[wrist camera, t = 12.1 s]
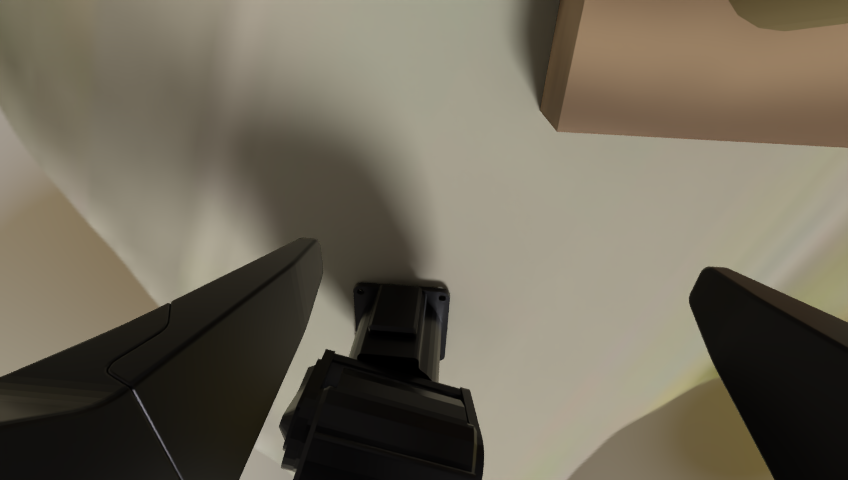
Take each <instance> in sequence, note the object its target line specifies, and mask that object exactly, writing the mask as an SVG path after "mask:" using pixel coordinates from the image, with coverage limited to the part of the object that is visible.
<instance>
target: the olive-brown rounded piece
mask: <svg viewBox="0 0 848 480" xmlns="http://www.w3.org/2000/svg"><path fill="white" fill-rule="evenodd" d="M729 2H730V3H731V5H732V7H733V8H734V10H735V11H736V13H737V15H738V16H740V17H742V18H743V19H745V20H746V21H748V22H750V23H751V24H753V25H755V26H756V27H758V28H763V29H770V30H778V31H792V30H800V29H808V28H815V27H823V26H831V25H839V24H847V23H848V0H729Z"/></svg>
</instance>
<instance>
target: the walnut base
mask: <svg viewBox="0 0 848 480" xmlns="http://www.w3.org/2000/svg"><path fill="white" fill-rule="evenodd" d="M540 111H541V112H542V114H543V115H544V116H545V117H546V119H547V120H548V121H549V122H550V124H551V125H552V126H553V127H554V129H555V130H556V131H557V132H573V133H591V134H609V135H627V136H645V137H664V138H682V139H700V140H718V141H736V142H754V143H772V144H791V145H809V146H827V147H845V148H848V23H847V24H839V25H831V26H823V27H815V28H808V29H800V30H792V31H778V30H770V29H763V28H758V27H756V26H755V25H753V24H751V23H750V22H748V21H746V20H745V19H743V18H742V17H740V16H738V15H737V13H736V11H735V10H734V8H733V7H732V5H731V3H730V2H729V0H560V4H559V10H558V15H557V20H556V26H555V31H554V37H553V42H552V48H551V53H550V58H549V64H548V69H547V75H546V80H545V86H544V91H543V96H542V102H541V107H540Z"/></svg>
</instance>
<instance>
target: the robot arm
mask: <svg viewBox="0 0 848 480" xmlns="http://www.w3.org/2000/svg"><path fill="white" fill-rule="evenodd" d="M322 274H323V264H322V256H321V248H320V243H319V241H318V240H317V239H313V238H300V239H298V240H296V241H294V242H292V243H289V244H287V245H285V246H283V247H281V248H279V249H277V250H275V251H273V252H271V253H269V254H267V255H265V256H263V257H261V258H259V259H257V260H255V261H253V262H251V263H249V264H247V265H245V266H243V267H241V268H239V269H237V270H234V271H232V272H230V273H228V274H226V275H224V276H222V277H220V278H218V279H216V280H214V281H212V282H210V283H208V284H206V285H204V286H202V287H200V288H198V289H196V290H194V291H192V292H190V293H188V294H186V295H184V296H181V297H179V298H177V299H175V300H173V301H172V302H171V304H170V303H167V304H165V305H163V306H161V307H159V308H157V309H155V310H153V311H151V312H149V313H147V314H144V315H142V316H140V317H138V318H136V319H134V320H132V321H130V322H128V323H125V324H124V325H121V326H119V327H116V328H114V329H112V330H110V331H107V332H105V333H103V334H100V335H98V336H96V337H94V338H91V339H89V340H87V341H84V342H82V343H80V344H77V345H75V346H73V347H70V348H68V349H66V350H63V351H61V352H59V353H56V354H54V355H52V356H49V357H47V358H44V359H42V360H40V361H38V362H35V363H33V364H30V365H28V366H25V367H23V368H21V369H19V370H16V371H14V372H11V373H9V374H7V375H4V376H2V377H0V480H239V479H240V476H241V474H242V472H243V470H244V467H245V465H246V463H247V460H248V458H249V456H250V454H251V451H252V449H253V447H254V445H255V443H256V440H257V438H258V436H259V434H260V431H261V429H262V427H263V425H264V422H265V420H266V418H267V416H268V413H269V411H270V409H271V407H272V404H273V402H274V400H275V398H276V395H277V393H278V391H279V389H280V386H281V384H282V382H283V380H284V378H285V375H286V373H287V371H288V369H289V366H290V364H291V362H292V360H293V357H294V355H295V353H296V351H297V348H298V346H299V344H300V342H301V339H302V337H303V335H304V332H305V330H306V327H307V324H308V321H309V318H310V315H311V311H312V308H313V305H314V301H315V298H316V295H317V292H318V288H319V285H320V282H321V278H322ZM359 289H363V290H364V291H360V290H359ZM353 292H354V305H355V318H356V331H357V333H356V336H355V339H354V342H353V345H352V348H351V352H350V355H349V357H346V356H342V355H339V354H335V351H331V350H328V349H326V350H325V353H324V355H323V357H322V359H318V360H317V362H316V365H314V366H311V367H308V370H307V372H306V374H305V377H304V379H303V381H302V384H301V386H300V388H299V390H298V392H297V394H296V396H295V397H294V399H293V400H292V402H291V403H290V405H289V407H288V408H287V410H286V411H285V413H284V415H283V417H282V419H281V422H280V425H279V428H280V431H281V433H282V435H283V437H284V440H285V442H284V446H283V450H284V451H285V454H284V457H283V461H282V465H281V468H282V469H286V470H290V471H293V472H296V473H295V476H294V479H293V480H482V476H483V467H484V445H483V440H482V435H481V431H480V427H479V424H478V420H477V416H476V412H475V408H474V404H473V400H472V396H471V392H470V390H469V389H465V388H462V387H461V388H460V389H459V388H455V387H452V386H448V385H445V384H441V383H438V380H439V362H440V360H443V359H444V357H445V347H446V335H447V324H448V313H449V302H450V293H449V291H448V290H446V289H442V288H429V287H416V286H403V285H390V284H376V283H363V282H360V283H357V284H356V285H355V287H354V291H353ZM440 295H444V296H445V297H440ZM689 304H690V307H691V310H692V312H693V315H694V317H695V320H696V322H697V325H698V327H699V330H700V332H701V335H702V337H703V340H704V343H705V345H706V348H707V350H708V353H709V355H710V357H711V360H712V362H713V364H714V366H715V368H716V370H717V372H718V374H719V376H720V378H721V380H722V381H723V383H724V385H725V387H726V389H727V391H728V393H729V395H730V397H731V399H732V401H733V402H734V404H735V406H736V408H737V410H738V412H739V414H740V415H741V417H742V420H743V421H744V423H745V425H746V427H747V429H748V431H749V433H750V434H751V436H752V438H753V440H754V442H755V444H756V446H757V448H758V450H759V452H760V454H761V456H762V458H763V459H764V461H765V463H766V465H767V467H768V469H769V471H770V473H771V475H772V476H773V478H774V480H848V322H846V321H843V320H841V319H839V318H837V317H835V316H832V315H830V314H828V313H826V312H823V311H821V310H819V309H817V308H815V307H812V306H810V305H808V304H806V303H804V302H801V301H799V300H797V299H795V298H792V297H790V296H788V295H786V294H784V293H781V292H779V291H777V290H775V289H773V288H770V287H768V286H766V285H764V284H761V283H759V282H757V281H755V280H753V279H750V278H748V277H746V276H744V275H742V274H739V273H737V272H735V271H733V270H730V269H728V268H724V267H706V268H704V269H703V270H702V271H701V273H700V275H699V277H698V279H697V281H696V283H695V285H694V287H693V289H692V291H691V293H690V296H689Z"/></svg>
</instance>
